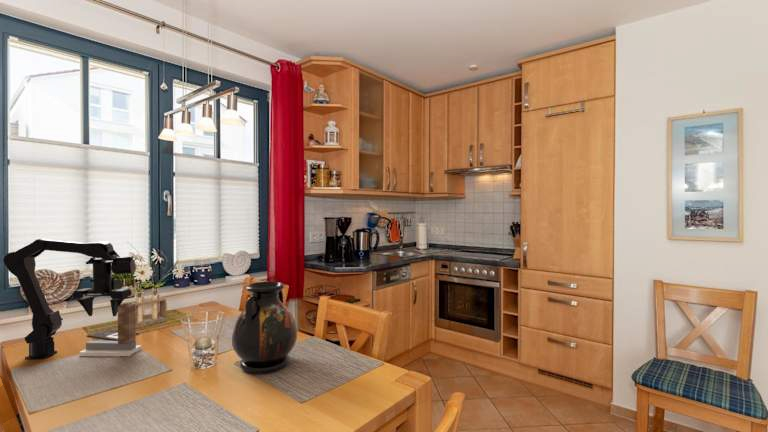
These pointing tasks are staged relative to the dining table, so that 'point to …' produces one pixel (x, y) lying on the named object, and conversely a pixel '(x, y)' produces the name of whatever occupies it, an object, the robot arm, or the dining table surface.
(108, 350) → the board
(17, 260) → the robot arm
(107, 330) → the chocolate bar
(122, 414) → the dining table surface
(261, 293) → the amphora vase
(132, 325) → the walnut baton
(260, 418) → the dining table surface
